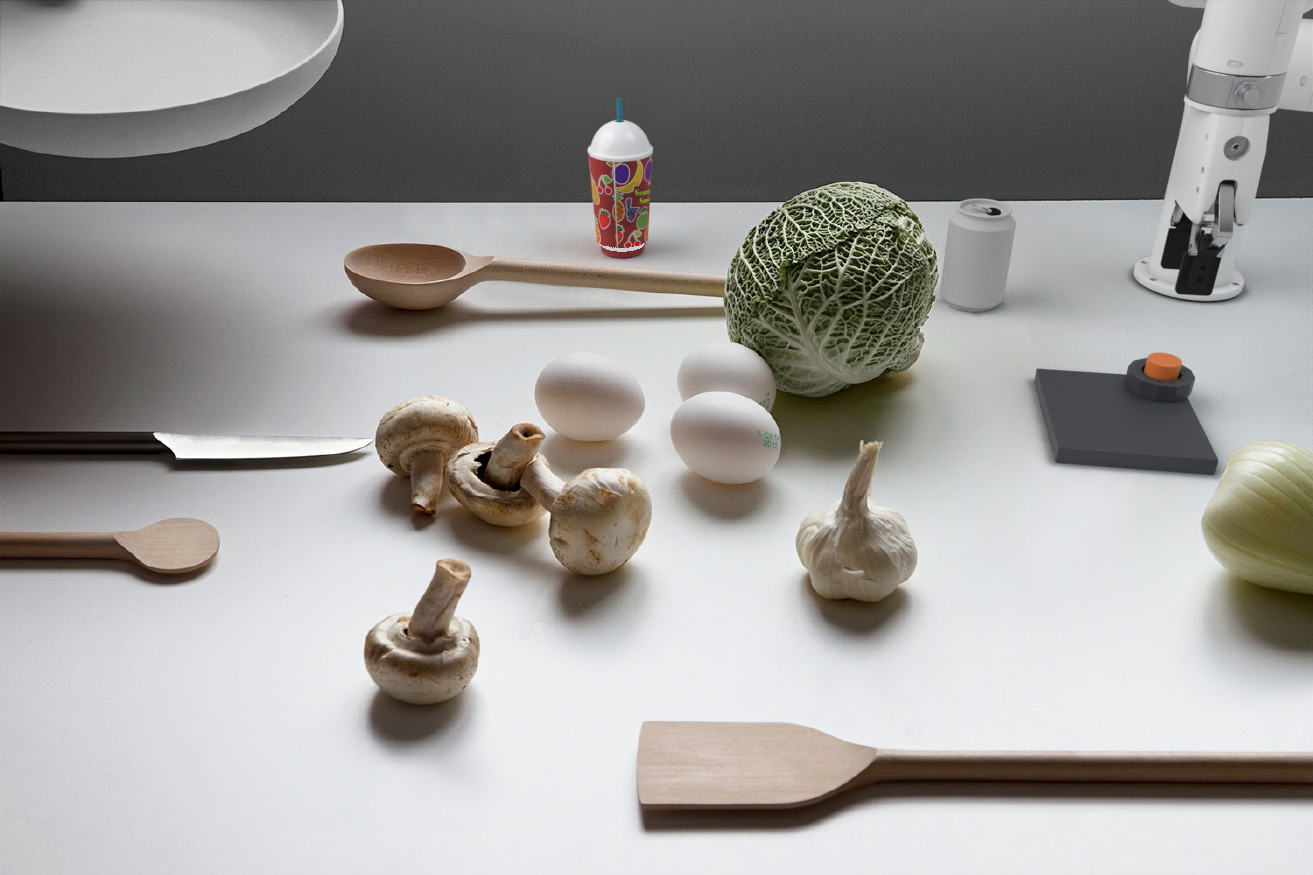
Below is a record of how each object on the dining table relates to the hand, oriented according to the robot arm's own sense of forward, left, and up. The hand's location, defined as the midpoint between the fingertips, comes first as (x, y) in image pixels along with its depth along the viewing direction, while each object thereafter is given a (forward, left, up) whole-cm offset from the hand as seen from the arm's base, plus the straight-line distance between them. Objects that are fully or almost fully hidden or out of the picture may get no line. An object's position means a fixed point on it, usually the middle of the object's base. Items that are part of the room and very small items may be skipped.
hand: (1185, 279), depth 108 cm
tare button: (0, 0, -10) cm, 10 cm away
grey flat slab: (+5, -4, -13) cm, 15 cm away
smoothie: (-33, -61, -14) cm, 71 cm away
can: (-23, -16, -14) cm, 31 cm away
